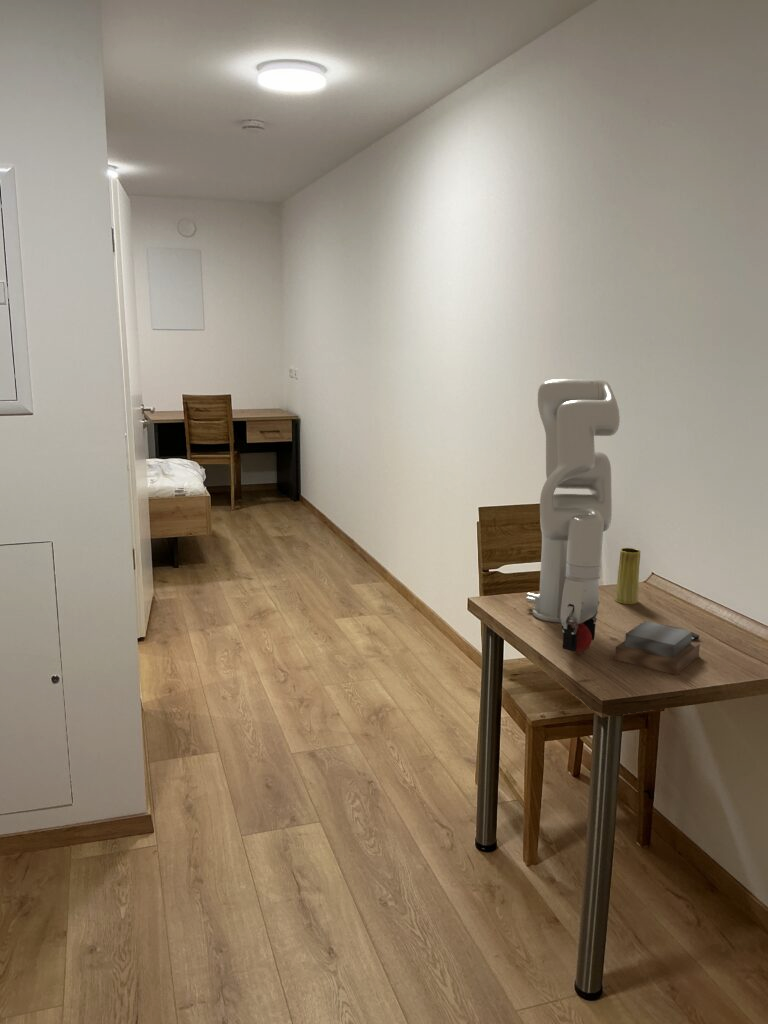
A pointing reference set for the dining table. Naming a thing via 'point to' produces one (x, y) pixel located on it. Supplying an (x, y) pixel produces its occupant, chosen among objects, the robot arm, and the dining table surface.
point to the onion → (583, 638)
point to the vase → (628, 576)
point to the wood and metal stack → (658, 648)
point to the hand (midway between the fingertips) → (578, 644)
